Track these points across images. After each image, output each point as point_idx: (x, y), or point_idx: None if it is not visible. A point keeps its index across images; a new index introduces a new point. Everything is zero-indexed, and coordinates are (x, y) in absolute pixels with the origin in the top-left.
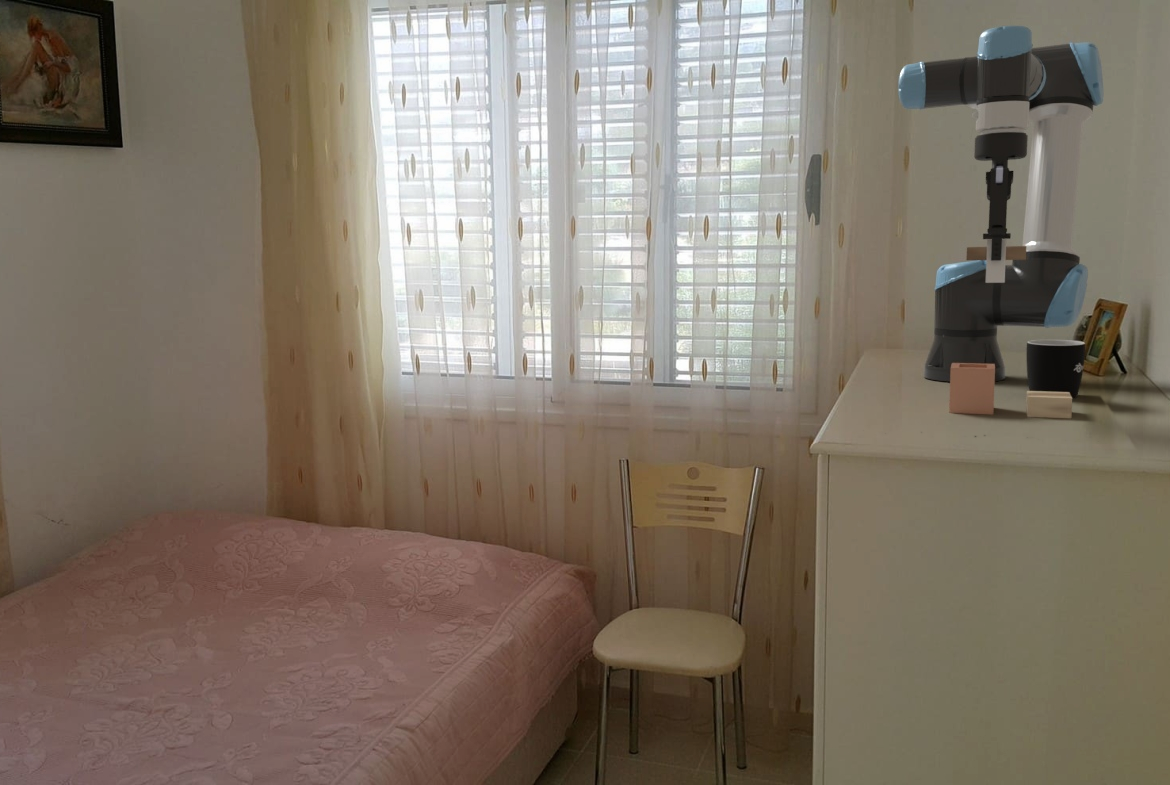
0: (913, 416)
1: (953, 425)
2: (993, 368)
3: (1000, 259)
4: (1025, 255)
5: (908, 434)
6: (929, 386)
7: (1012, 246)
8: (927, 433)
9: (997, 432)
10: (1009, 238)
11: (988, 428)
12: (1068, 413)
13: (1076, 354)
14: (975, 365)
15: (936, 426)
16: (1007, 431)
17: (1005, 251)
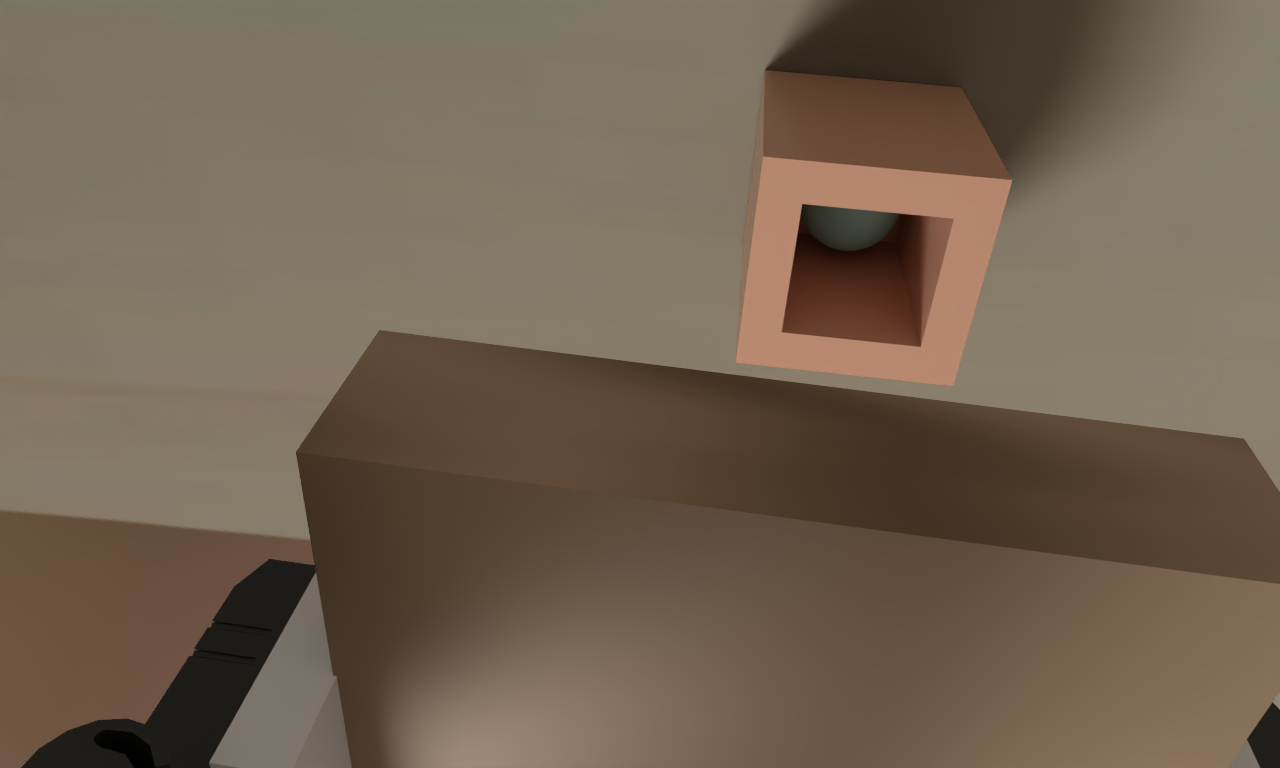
0: (863, 382)
1: (1078, 257)
2: (986, 185)
3: (1273, 713)
4: (1268, 488)
5: (1265, 419)
6: (51, 279)
7: (967, 705)
8: (1253, 359)
9: (1271, 96)
10: (148, 734)
11: (1164, 125)
12: None
13: None
14: (793, 256)
15: (1098, 319)
16: (1252, 49)
17: (1248, 755)
